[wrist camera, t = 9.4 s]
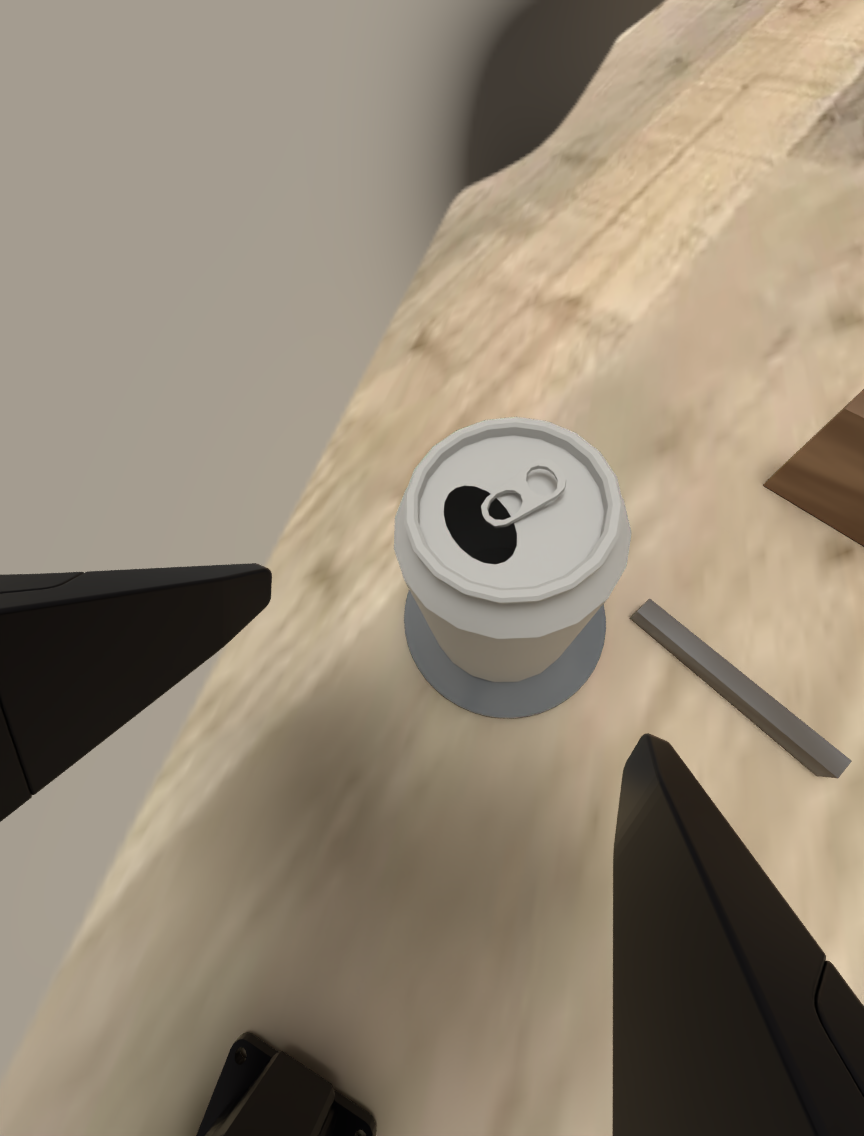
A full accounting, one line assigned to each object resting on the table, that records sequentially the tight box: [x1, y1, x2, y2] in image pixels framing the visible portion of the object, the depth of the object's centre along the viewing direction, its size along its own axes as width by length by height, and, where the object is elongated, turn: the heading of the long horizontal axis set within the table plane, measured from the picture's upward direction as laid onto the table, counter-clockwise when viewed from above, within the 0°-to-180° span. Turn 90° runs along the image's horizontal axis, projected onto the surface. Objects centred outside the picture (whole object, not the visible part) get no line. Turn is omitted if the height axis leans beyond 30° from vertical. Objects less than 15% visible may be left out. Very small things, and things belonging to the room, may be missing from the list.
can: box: [394, 417, 631, 682], centre depth 17 cm, size 8×8×12 cm
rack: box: [630, 389, 864, 778], centre depth 18 cm, size 14×10×6 cm
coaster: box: [404, 590, 606, 718], centre depth 23 cm, size 11×11×1 cm
